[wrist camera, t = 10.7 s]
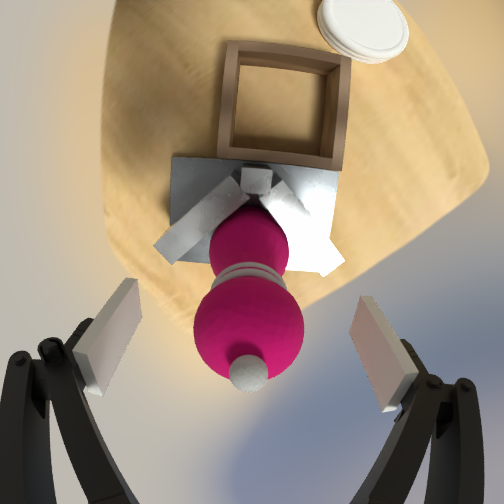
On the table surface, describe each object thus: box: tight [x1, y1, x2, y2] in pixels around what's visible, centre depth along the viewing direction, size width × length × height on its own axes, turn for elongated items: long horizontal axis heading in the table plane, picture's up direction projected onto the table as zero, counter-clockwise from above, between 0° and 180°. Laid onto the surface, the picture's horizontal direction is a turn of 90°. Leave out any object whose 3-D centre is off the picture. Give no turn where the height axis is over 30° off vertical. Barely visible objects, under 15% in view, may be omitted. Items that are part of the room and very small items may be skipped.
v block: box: [153, 157, 344, 277], centre depth 27 cm, size 17×11×7 cm, turn 85°
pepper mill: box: [193, 207, 304, 392], centre depth 21 cm, size 7×7×20 cm
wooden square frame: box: [216, 40, 351, 171], centre depth 24 cm, size 11×11×5 cm
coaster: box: [317, 0, 409, 64], centre depth 21 cm, size 10×10×4 cm
